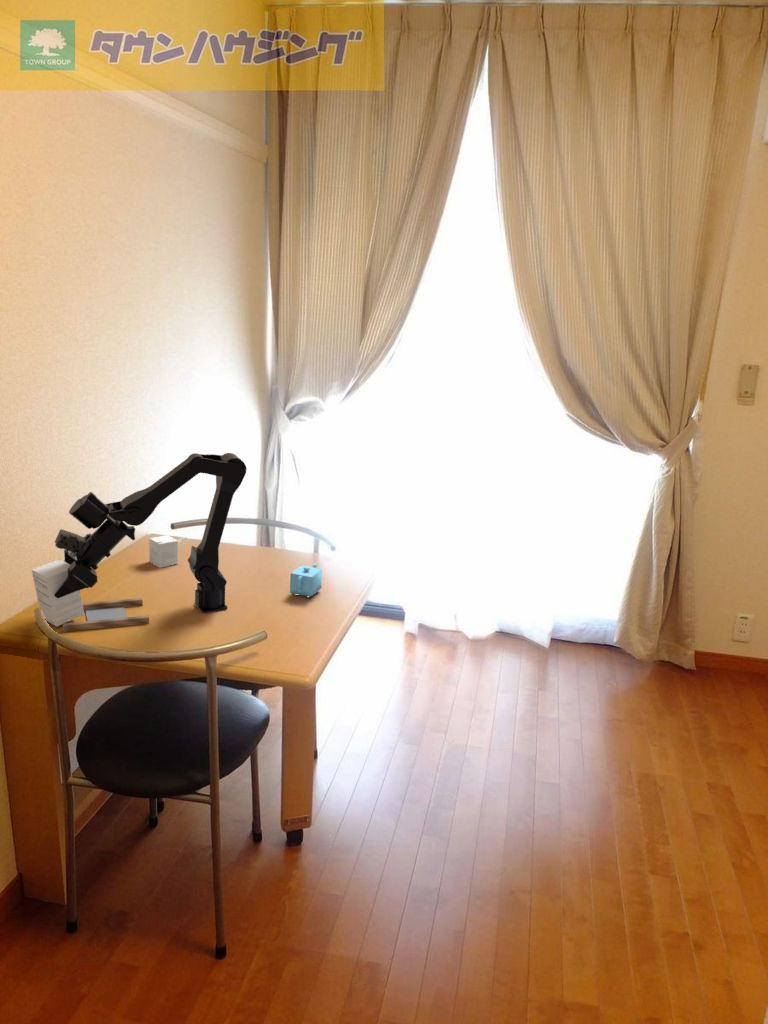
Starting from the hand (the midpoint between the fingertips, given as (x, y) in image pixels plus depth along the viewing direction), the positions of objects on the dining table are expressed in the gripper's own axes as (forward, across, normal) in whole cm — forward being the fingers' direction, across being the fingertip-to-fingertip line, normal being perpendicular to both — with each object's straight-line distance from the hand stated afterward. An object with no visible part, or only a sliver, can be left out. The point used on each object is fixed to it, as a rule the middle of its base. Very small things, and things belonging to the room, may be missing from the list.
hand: (54, 589), depth 187 cm
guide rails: (-2, 0, +13) cm, 13 cm away
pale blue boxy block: (-38, -4, +51) cm, 64 cm away
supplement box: (+4, 0, +6) cm, 7 cm away
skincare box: (-15, -34, +28) cm, 47 cm away
